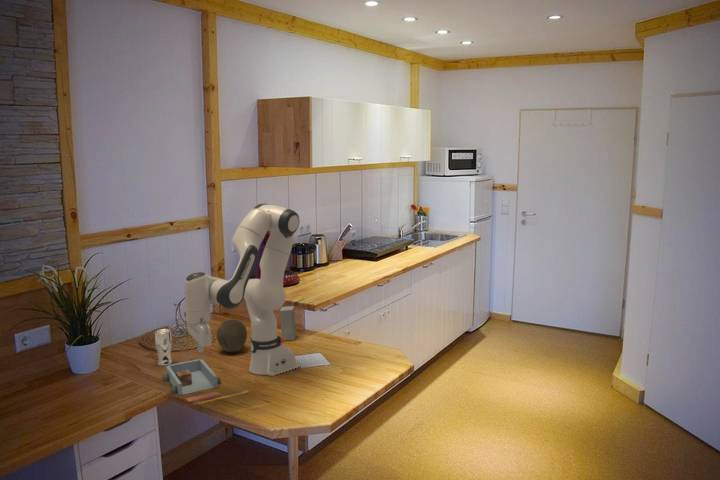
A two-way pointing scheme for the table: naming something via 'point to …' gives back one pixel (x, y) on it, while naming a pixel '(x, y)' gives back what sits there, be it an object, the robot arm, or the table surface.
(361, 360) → the table surface
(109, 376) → the table surface
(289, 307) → the skincare box
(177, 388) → the flatbed
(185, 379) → the brown small block
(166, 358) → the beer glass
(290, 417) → the table surface
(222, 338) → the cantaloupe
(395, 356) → the table surface
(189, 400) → the tailgate
